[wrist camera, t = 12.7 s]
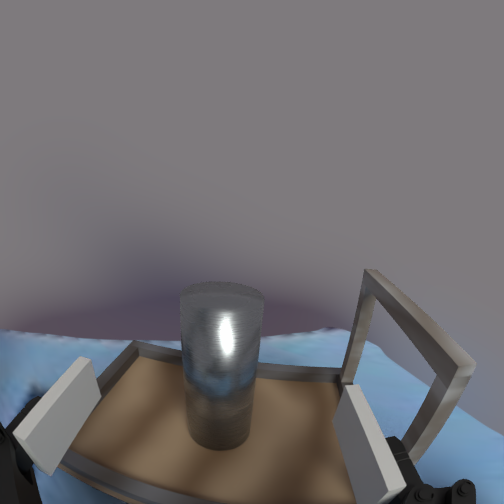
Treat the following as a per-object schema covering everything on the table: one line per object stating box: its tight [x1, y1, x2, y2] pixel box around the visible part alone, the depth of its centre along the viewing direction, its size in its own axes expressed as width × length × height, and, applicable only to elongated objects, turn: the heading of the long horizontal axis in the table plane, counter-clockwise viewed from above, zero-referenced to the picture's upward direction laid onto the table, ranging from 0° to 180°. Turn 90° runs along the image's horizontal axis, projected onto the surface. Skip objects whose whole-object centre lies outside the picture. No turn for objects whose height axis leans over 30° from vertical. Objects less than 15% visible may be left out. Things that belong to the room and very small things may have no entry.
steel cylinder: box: [180, 282, 264, 451], centre depth 17 cm, size 5×5×12 cm
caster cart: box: [57, 269, 477, 504], centre depth 18 cm, size 24×18×19 cm
